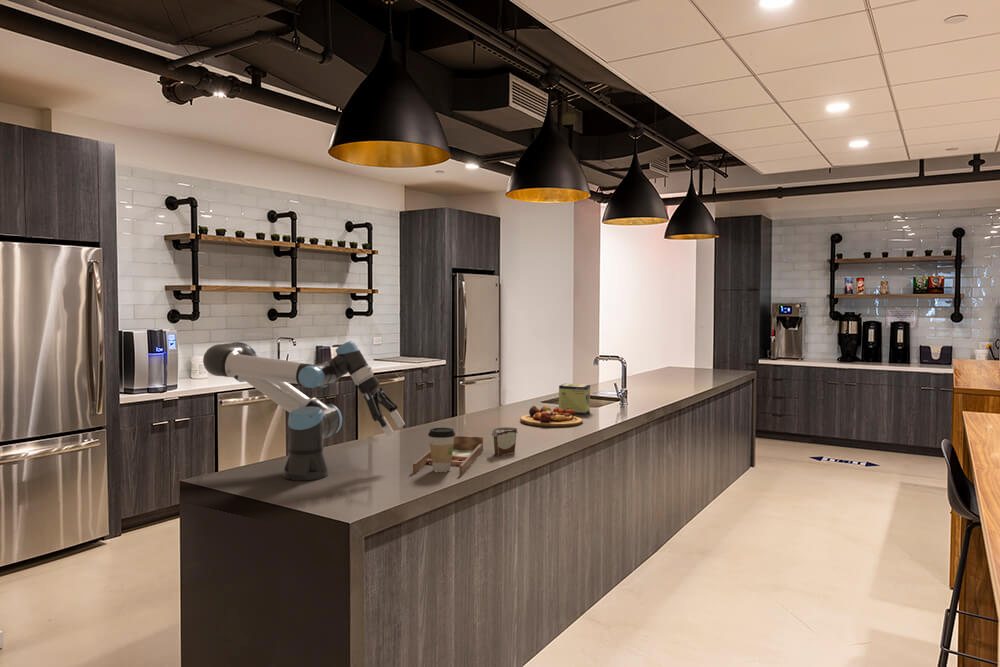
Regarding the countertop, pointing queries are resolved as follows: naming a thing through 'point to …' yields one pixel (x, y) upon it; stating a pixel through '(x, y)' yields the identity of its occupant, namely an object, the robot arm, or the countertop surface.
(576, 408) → the protein box
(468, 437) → the wooden frame with crossbars
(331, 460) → the countertop surface
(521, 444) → the countertop surface
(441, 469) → the coffee cup
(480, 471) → the countertop surface
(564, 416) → the wooden plate with food
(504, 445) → the food container
